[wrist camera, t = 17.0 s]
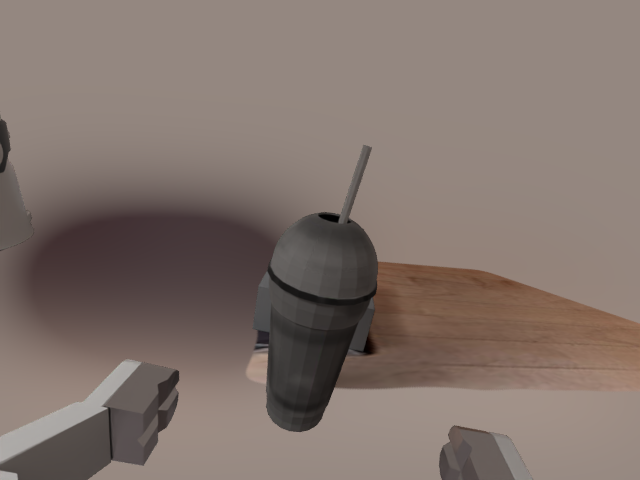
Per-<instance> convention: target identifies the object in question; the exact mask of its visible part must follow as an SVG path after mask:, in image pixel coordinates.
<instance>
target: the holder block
mask: <svg viewBox="0 0 640 480" xmlns="http://www.w3.org/2000/svg"><path fill="white" fill-rule="evenodd" d="M269 277H270V276H269V274H268V272H266V274H265V276H264V277H263V279H262V281H261V283H260V285H259V287H258V294H257V301H256V310H255V317H254V324H253V329H256V330H260V331H265V332H270V316H271V300H270V294H269ZM374 311H375V308H374V302H373V297H372V298H371V300H370V304H369V306H368V308H367V310H366V312H365V314H364V316H363V317H362V319H361V320H360V321H359V323H358V325H357V328H356V331H355V333H354V336H353V339H352V341H351V344H350V347H349V349H353V350H358V351H363V350H364V346H365V343H366V339H367V336H368V332H369V329H370V325H371V322H372V318H373V315H374Z"/></svg>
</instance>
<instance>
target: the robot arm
mask: <svg viewBox="0 0 640 480" xmlns="http://www.w3.org/2000/svg"><path fill="white" fill-rule="evenodd" d="M9 138H10V135H9V132H8V130H7V126H6V122H5V121H3V120H2V119H1V117H0V250H3V249H6V248H9V247H12V246H15V245H18V244H20V243H22V242H24V241H26V240H27V239H29V238H30V237H31V236H32V235H33V233H34V229H33V227H32V225H31V223H30V221H31V219H32V217H31V213H30V211H28V210H25V206H24V202H23V199H22V195H21V191H20V187H19V184H18V181H17V177H16V173H15V170H14V167H13V165H12V163H11V162H10V161H9V160H8V152H9V151H10V142H9ZM178 381H179V371H177V370H175V369H171V368H166V367H162V366H158V365H153V364H149V363H145V362H144V363H143V362H139V361H134V360H130V359H127V360H125V361H123V362H121V363H120V364H119V366H118V367H116V369H115V370H114V371H113V372H112V373H111V374H110V375H109V376H108V377H107V378H106V379H105V380H104V381H103V382H102V383H101V384H100V385H99V386H98V387H97V388H96V389H95V390H94V391H93V392H92V393H91V394H90V396H88V397H87V398H86V399H85V400H84V401H83V403H81V402H75V403H73V404H71V405H69V406H66V407H64V408H62V409H60V410H58V411H55V412H53V413H51V414H49V415H47V416H45V417H42V418H40V419H38V420H36V421H33V422H31V423H29V424H27V425H25V426H22V427H20V428H18V429H16V430H14V431H11V432H9V433H7V434H5V435H3V436H1V437H0V480H88V479H89V478H90V477H92V476H93V475H94V474H96V473H97V472H98V471H100V470H101V469H103V468H104V467H105V466H107V465H108V464H109V463H111V460H113V461H119V462H125V463H131V464H137V465H144V464H145V462H146V461H147V459H148V457H149V456H150V454H151V452H152V451H153V449H154V447H155V446H156V444H157V442H158V432H160V431H162V430H163V429H165V428H166V427H167V426H168V424H169V422H170V421H171V419H172V416H173V414H174V412H175V409H176V406H177V402H178V391H177V390H176V388H175V385H176V384H177V383H178ZM448 436H449V439H450V442H449V443H447V444H446V445H444V446H443V448H442V450H441V453H440V461H439V467H440V475H441V478H442V480H533V478H532V477H531V475H530V473H529V471H528V469H527V468H526V466H525V464H524V462H523V460H522V459H521V457H520V455H519V453H518V451H517V449H516V447H515V446H514V444H513V442H512V440H511V439H510V438H509V437H508V436H507V435H502V434H496V433H491V432H486V431H481V430H476V429H470V428H465V427H460V426H453V427H452V428H451V429H450V432H449V434H448Z"/></svg>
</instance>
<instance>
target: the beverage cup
mask: <svg viewBox="0 0 640 480" xmlns="http://www.w3.org/2000/svg"><path fill="white" fill-rule="evenodd" d="M371 149H372V147H369V146H366V145H363V148H362V151H361V154H360V158H359V160H358V163H357V166H356V169H355V172H354V175H353V179H352V182H351V185H350V188H349V191H348V194H347V197H346V200H345V203H344V206H343V209H342V212H341V215H339V214H335V213H327V212H325V213H324V212H323V213H316V214H311V215H308V216H306V217H303V218H302V219H300V220H298V221H297V222H295V223H294V224H293V225H292V226H290V227H289V228H288V229H287V230H286V231H285V232H284V234H283V235H282V236H281V238H280V239H279V241H278V243H277V245H276V248H275V250H274V253H273V258H272V259H271V260H270V263H269V266H268V270H267V272H268V274H269V276H270V277H269V294H270V300H271V316H270V333H269V351H268V368H267V386H266V392H267V405H266V408H267V412H268V415H269V416H270V418H271V419H272V421H273V422H274V423H275V424H277V425H278V426H279V427H281V428H283V429H286V430H288V431H294V432H302V431H307V430H310V429H311V428H313V427H315V426H316V425H317V424H318V423H319V421H320V420H321V419H322V416H323V413H324V411H325V408H326V406H327V405H328V403H329V400H330V397H331V395H332V392H333V390H334V387H335V384H336V381H337V379H338V376H339V373H340V371H341V368H342V365H343V363H344V360H345V357H346V355H347V352H348V349H349V347H350V344H351V341H352V339H353V336H354V333H355V331H356V328H357V325H358V323H359V321H360V320H361V319H362V317H363V316H364V314H365V312H366V310H367V308H368V306H369V304H370V300H371V298H372V297H373V296H374V295H375V294H376V290H377V281H376V279H377V274H378V262H377V255H376V252H375V249H374V246H373V244H372V242H371V240H370V238H369V237H368V235H367V234H366V232H365V231H364V230H363V229H362V228H361V227H360V226H359V225H358V224H357V223H356V222H354V221H353V220H351V219H349V215H350V212H351V209H352V206H353V203H354V200H355V197H356V194H357V191H358V188H359V185H360V182H361V179H362V176H363V173H364V170H365V167H366V164H367V161H368V158H369V155H370V152H371Z"/></svg>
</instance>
